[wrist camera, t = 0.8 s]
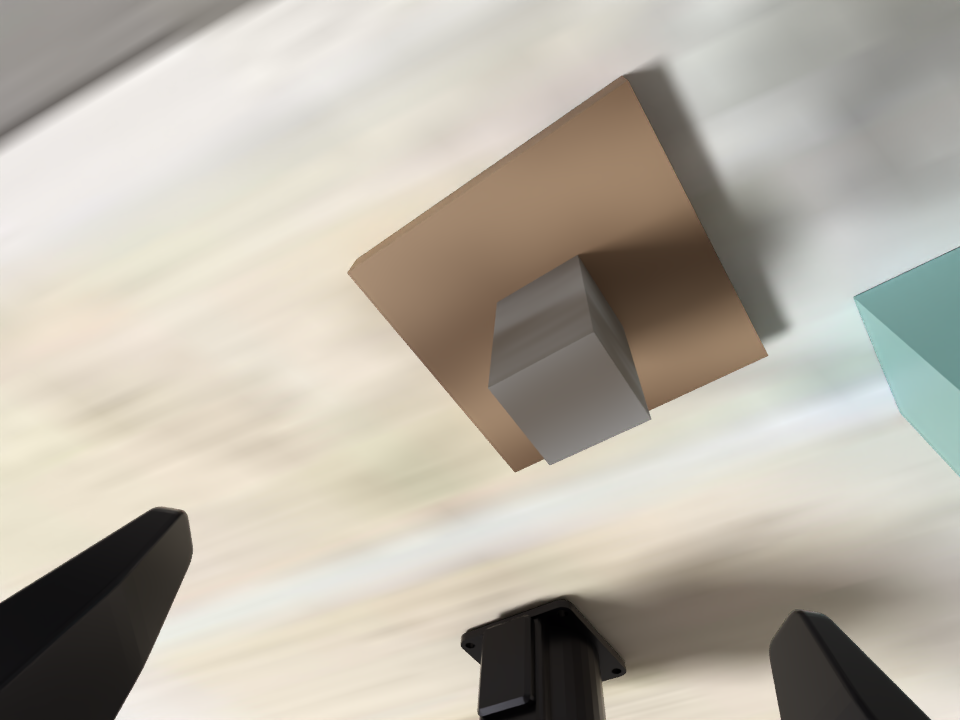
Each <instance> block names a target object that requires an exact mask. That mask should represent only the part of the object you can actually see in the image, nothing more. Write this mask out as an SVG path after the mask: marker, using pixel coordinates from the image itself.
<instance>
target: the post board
mask: <svg viewBox="0 0 960 720" xmlns="http://www.w3.org/2000/svg"><path fill="white" fill-rule="evenodd" d="M348 275H349V276H350V277H351V278H352V279H353V280H354V282H355V283H356V284H357V285H358V286H359V288H360V289H361V290H362V291H363V292H364V294H365V295H366V296H367V297H368V298H369V300H370V301H371V302H372V303H373V304H374V305H375V307H376V308H377V309H378V310H379V311H380V313H381V314H382V315H383V316H384V317H385V319H386V320H387V321H388V322H389V323H390V324H391V326H392V327H393V328H394V329H395V330H396V332H397V333H398V334H399V335H400V336H401V338H402V339H403V340H404V341H405V342H406V343H407V345H408V346H409V347H410V348H411V349H412V351H413V352H414V353H415V354H416V355H417V357H418V358H419V359H420V360H421V361H422V363H423V364H424V365H425V366H426V367H427V368H428V370H429V371H430V372H431V373H432V374H433V376H434V377H435V378H436V379H437V380H438V382H439V383H440V384H441V385H442V386H443V387H444V389H445V390H446V391H447V392H448V393H449V395H450V396H451V397H452V398H453V399H454V401H455V402H456V403H457V404H458V405H459V407H460V408H461V409H462V410H463V411H464V412H465V414H466V415H467V416H468V417H469V418H470V420H471V421H472V422H473V423H474V424H475V426H476V427H477V428H478V429H479V430H480V431H481V433H482V434H483V435H484V436H485V437H486V439H487V440H488V441H489V442H490V443H491V445H492V446H493V447H494V448H495V449H496V450H497V452H498V453H499V454H500V455H501V456H502V458H503V459H504V460H505V461H506V462H507V464H508V465H509V466H510V467H511V468H512V470H513V471H514V472H517V471H519V470H522V469H524V468H526V467H528V466H530V465H532V464H535V463H537V462H539V461H541V460H543V459H545V460H546V461H547V463H548V464H549V465H552V464H554V463H556V462H559V461H561V460H563V459H565V458H567V457H570V456H572V455H574V454H576V453H578V452H581V451H583V450H585V449H587V448H589V447H592V446H594V445H596V444H598V443H600V442H603V441H605V440H607V439H609V438H611V437H614V436H616V435H618V434H620V433H622V432H625V431H627V430H629V429H631V428H633V427H636V426H638V425H640V424H642V423H644V422H647V421H649V420H651V417H650V414H649V410H652V409H654V408H656V407H658V406H660V405H663V404H665V403H667V402H669V401H671V400H673V399H676V398H678V397H680V396H682V395H684V394H686V393H689V392H691V391H693V390H695V389H697V388H699V387H702V386H704V385H706V384H708V383H710V382H712V381H715V380H717V379H719V378H721V377H723V376H725V375H728V374H730V373H732V372H734V371H736V370H738V369H741V368H743V367H745V366H747V365H749V364H751V363H754V362H756V361H758V360H760V359H762V358H764V357H767V356H768V354H767V352H766V350H765V348H764V346H763V344H762V342H761V340H760V338H759V336H758V335H757V333H756V331H755V329H754V327H753V325H752V323H751V321H750V319H749V317H748V315H747V313H746V311H745V309H744V307H743V305H742V303H741V301H740V299H739V297H738V295H737V293H736V291H735V289H734V287H733V285H732V283H731V281H730V280H729V278H728V276H727V274H726V272H725V270H724V268H723V266H722V264H721V262H720V260H719V258H718V256H717V254H716V252H715V250H714V248H713V246H712V244H711V242H710V240H709V238H708V236H707V234H706V232H705V230H704V228H703V226H702V225H701V223H700V221H699V219H698V217H697V215H696V213H695V211H694V209H693V207H692V205H691V203H690V201H689V199H688V197H687V195H686V193H685V191H684V189H683V187H682V185H681V183H680V181H679V179H678V177H677V175H676V173H675V171H674V170H673V168H672V166H671V164H670V162H669V160H668V158H667V156H666V154H665V152H664V150H663V148H662V146H661V144H660V142H659V140H658V138H657V136H656V134H655V132H654V130H653V128H652V126H651V124H650V122H649V120H648V118H647V116H646V115H645V113H644V111H643V109H642V107H641V105H640V103H639V101H638V99H637V97H636V95H635V93H634V91H633V89H632V87H631V85H630V83H629V81H628V80H627V79H626V78H624V77H623V76H621V77H619V78H618V79H616V80H615V81H613V82H612V83H610V84H609V85H608V86H606V87H605V88H603V89H602V90H600V91H599V92H597V93H596V94H595V95H593V96H592V97H590V98H589V99H587V100H586V101H584V102H583V103H582V104H580V105H579V106H577V107H576V108H574V109H573V110H571V111H570V112H569V113H567V114H566V115H564V116H563V117H561V118H560V119H558V120H557V121H556V122H554V123H553V124H551V125H550V126H548V127H547V128H545V129H544V130H543V131H541V132H540V133H538V134H537V135H535V136H534V137H532V138H531V139H530V140H528V141H527V142H525V143H524V144H522V145H521V146H520V147H518V148H517V149H515V150H514V151H512V152H511V153H509V154H508V155H507V156H505V157H504V158H502V159H501V160H499V161H498V162H496V163H495V164H494V165H492V166H491V167H489V168H488V169H486V170H485V171H483V172H482V173H481V174H479V175H478V176H476V177H475V178H473V179H472V180H470V181H469V182H468V183H466V184H465V185H463V186H462V187H460V188H459V189H457V190H456V191H455V192H453V193H452V194H450V195H449V196H447V197H446V198H444V199H443V200H442V201H440V202H439V203H437V204H436V205H434V206H433V207H431V208H430V209H429V210H427V211H426V212H424V213H423V214H421V215H420V216H418V217H417V218H416V219H414V220H413V221H411V222H410V223H408V224H407V225H406V226H404V227H403V228H401V229H400V230H398V231H397V232H395V233H394V234H393V235H391V236H390V237H388V238H387V239H385V240H384V241H382V242H381V243H380V244H378V245H377V246H375V247H374V248H372V249H371V250H369V251H368V252H367V253H365V254H364V255H362V256H361V257H359V258H358V259H357V260H356V261H355V262H354V264H353V265H352V267H351V268H350V270H349V271H348Z"/></svg>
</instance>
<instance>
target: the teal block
mask: <svg viewBox="0 0 960 720" xmlns="http://www.w3.org/2000/svg"><path fill="white" fill-rule="evenodd" d="M853 298H854V300H855V303H856V305H857V308H858V310H859V313H860V315H861V318H862V320H863V322H864V325H865V327H866V330H867V332H868V335H869V337H870V340H871V342H872V345H873V347H874V350H875V352H876V354H877V357H878V359H879V362H880V364H881V367H882V369H883V372H884V374H885V377H886V379H887V382H888V384H889V386H890V389H891V391H892V394H893V396H894V399H895V401H896V404H897V406H898V409H899V411H900V413H901V414H902V415H903V417H904V418H905V419H906V420H907V421H908V422H909V423H910V424H911V425H912V426H913V427H914V428H915V429H916V431H917V432H918V433H919V434H920V435H921V436H922V437H923V438H924V439H925V440H926V441H927V442H928V443H929V445H930V446H931V447H932V448H933V449H934V450H935V451H936V452H937V453H938V454H939V455H940V456H941V457H942V459H943V460H944V461H945V462H946V463H947V464H948V465H949V466H950V467H951V468H952V469H953V470H954V471H955V473H956V474H957V475H958V476H959V477H960V247H959V248H957V249H955V250H953V251H950V252H948V253H946V254H944V255H942V256H940V257H938V258H936V259H933V260H931V261H929V262H927V263H925V264H923V265H921V266H919V267H917V268H914V269H912V270H910V271H908V272H906V273H904V274H902V275H900V276H897V277H895V278H893V279H891V280H889V281H887V282H885V283H883V284H881V285H878V286H876V287H874V288H872V289H870V290H868V291H866V292H864V293H861V294H859V295H857V296H855V297H853Z"/></svg>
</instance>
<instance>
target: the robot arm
mask: <svg viewBox="0 0 960 720" xmlns="http://www.w3.org/2000/svg"><path fill="white" fill-rule="evenodd" d="M192 554H193V544H192V538H191V532H190V526H189V520H188V516H187V514H186V512H185V511H183V510H180V509H174V508H167V507H155V508H153V509H151V510H149V511H147V512H146V513H144V514H142V515H141V516H139V517H138V518H136V519H134V520H133V521H131V522H129V523H128V524H126V525H125V526H123V527H121V528H120V529H118V530H117V531H115V532H113V533H112V534H110V535H109V536H107V537H105V538H104V539H102V540H101V541H99V542H97V543H96V544H94V545H92V546H91V547H89V548H88V549H86V550H84V551H83V552H81V553H80V554H78V555H76V556H75V557H73V558H72V559H70V560H68V561H67V562H65V563H63V564H62V565H60V566H59V567H57V568H55V569H54V570H52V571H51V572H49V573H47V574H46V575H44V576H43V577H41V578H39V579H38V580H36V581H35V582H33V583H31V584H30V585H28V586H26V587H25V588H23V589H22V590H20V591H18V592H17V593H15V594H14V595H12V596H10V597H9V598H7V599H6V600H4V601H2V602H1V603H0V720H114V719H115V718H116V716H117V714H118V712H119V711H120V709H121V707H122V705H123V704H124V702H125V700H126V698H127V697H128V695H129V693H130V691H131V690H132V688H133V686H134V684H135V682H136V681H137V679H138V677H139V675H140V673H141V671H142V669H143V668H144V665H145V663H146V661H147V659H148V657H149V655H150V653H151V651H152V648H153V646H154V644H155V642H156V639H157V637H158V635H159V633H160V630H161V628H162V626H163V624H164V621H165V619H166V617H167V615H168V612H169V610H170V608H171V606H172V603H173V601H174V599H175V597H176V594H177V592H178V590H179V588H180V585H181V583H182V581H183V579H184V576H185V574H186V572H187V570H188V567H189V565H190V562H191V559H192ZM461 647H462V648H463V649H464V650H465V651H466V652H467V653H468V654H469V655H470V656H471V657H473V658H474V659H475V660H476V661H477V662H478V663H479V664H480V665H481V667H480V681H479V695H478V709H477V711H478V715H479V716H480V720H606V716H605V707H604V698H603V688H602V681H606V680H609V679H613V678H616V677H620V676H622V675H624V674H625V673H626V666H625V662H624V661H623V660H622V658H621V657H620V656H619V655H618V654H617V653H616V652H615V651H614V650H613V649H612V647H611V646H610V645H609V644H608V643H607V642H606V641H605V640H604V639H603V638H602V636H601V635H600V634H599V633H598V632H597V631H596V630H595V629H594V628H593V627H592V625H591V624H590V623H589V622H588V621H587V620H586V619H585V618H584V617H583V615H582V614H581V613H580V612H579V611H578V610H577V609H576V608H575V607H574V606H573V604H572V603H571V602H569V601H567V600H557V601H554V602H551V603H548V604H545V605H543V606H540V607H537V608H534V609H532V610H529V611H526V612H523V613H520V614H518V615H515V616H512V617H509V618H506V619H504V620H501V621H498V622H495V623H492V624H490V625H487V626H484V627H481V628H479V629H476V630H473V631H470V632H467V633H465V634H463V635H462V637H461ZM769 656H770V662H771V668H772V673H773V679H774V684H775V689H776V695H777V700H778V706H779V711H780V717H781V720H931V719H930V718H929V717H928V716H927V715H926V714H925V713H924V712H923V711H922V710H921V709H920V708H919V707H918V706H917V705H916V704H915V703H914V702H913V701H912V700H911V699H910V698H909V697H908V696H907V695H906V694H905V693H904V692H903V691H902V690H901V689H900V688H899V687H898V686H897V685H896V684H895V683H894V682H893V681H892V680H891V679H890V678H889V677H888V676H887V675H886V674H885V673H884V672H883V671H882V670H881V669H880V668H879V667H878V666H877V665H876V664H875V663H874V662H873V661H872V660H871V659H870V658H869V657H868V656H867V655H866V654H865V653H864V652H863V651H862V650H861V649H860V648H859V647H858V646H857V645H856V644H855V643H854V642H853V641H852V640H851V639H850V638H849V637H848V636H847V635H846V634H845V633H844V632H843V631H842V630H841V629H840V628H839V627H838V626H837V625H836V624H835V623H834V622H833V621H832V620H831V619H830V618H829V617H827V616H826V615H824V614H822V613H819V612H813V611H807V610H801V609H796V610H794V611H792V612H791V613H790V614H789V615H788V617H787V618H786V620H785V621H784V623H783V624H782V626H781V627H780V628H779V630H778V631H777V633H776V634H775V636H774V637H773V639H772V641H771V644H770V649H769Z"/></svg>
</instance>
